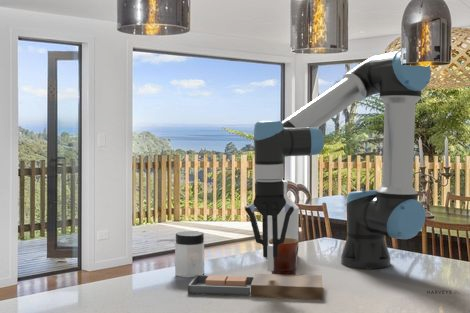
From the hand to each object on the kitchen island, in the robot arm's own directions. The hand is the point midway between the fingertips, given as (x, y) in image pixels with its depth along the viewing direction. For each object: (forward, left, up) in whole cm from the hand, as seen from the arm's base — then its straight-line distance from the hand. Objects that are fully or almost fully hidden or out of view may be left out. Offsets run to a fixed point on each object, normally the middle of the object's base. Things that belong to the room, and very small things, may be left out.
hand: (270, 269), depth 157 cm
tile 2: (+9, +1, -5) cm, 10 cm away
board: (-4, +1, -6) cm, 7 cm away
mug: (-3, -17, -6) cm, 19 cm away
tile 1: (+14, +1, -3) cm, 15 cm away
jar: (+25, -14, -6) cm, 29 cm away
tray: (+13, +1, -6) cm, 14 cm away
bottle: (0, -42, -6) cm, 43 cm away
